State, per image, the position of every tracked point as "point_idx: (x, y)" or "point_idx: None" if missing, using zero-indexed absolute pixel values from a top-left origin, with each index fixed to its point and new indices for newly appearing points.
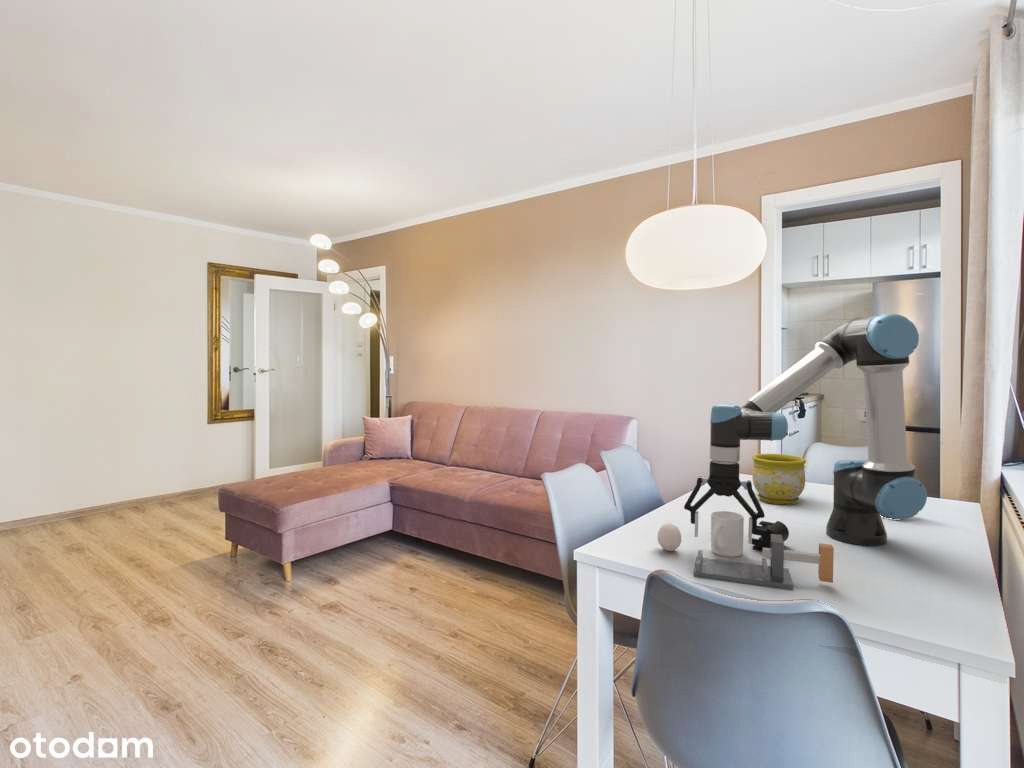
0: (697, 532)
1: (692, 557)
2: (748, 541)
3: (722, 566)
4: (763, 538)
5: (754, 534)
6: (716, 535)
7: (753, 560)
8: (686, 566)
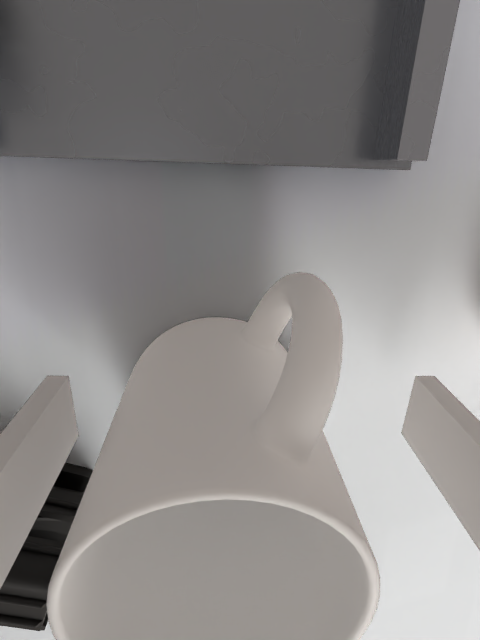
0: (432, 397)
1: (409, 236)
2: (67, 396)
3: (246, 7)
4: None
5: (53, 540)
6: (310, 298)
7: (70, 311)
8: (475, 38)
